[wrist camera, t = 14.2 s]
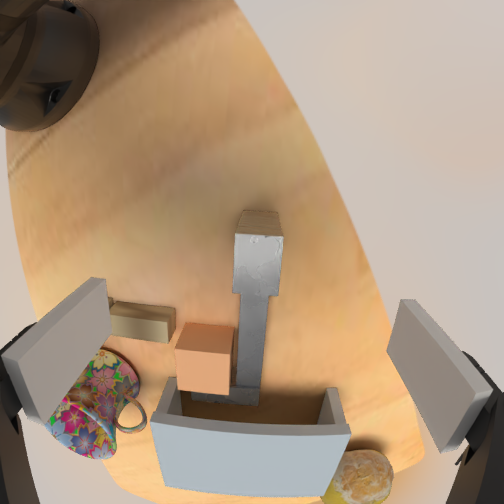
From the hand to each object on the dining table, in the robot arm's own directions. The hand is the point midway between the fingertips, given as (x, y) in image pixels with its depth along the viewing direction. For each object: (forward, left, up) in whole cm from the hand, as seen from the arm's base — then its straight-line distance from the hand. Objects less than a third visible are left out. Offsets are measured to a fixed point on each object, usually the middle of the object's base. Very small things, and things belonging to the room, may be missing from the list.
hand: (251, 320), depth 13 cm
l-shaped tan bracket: (+10, -13, -16) cm, 23 cm away
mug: (+19, -15, -17) cm, 29 cm away
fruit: (+32, +16, -17) cm, 39 cm away
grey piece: (+8, -2, -16) cm, 18 cm away
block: (+12, -4, -17) cm, 21 cm away
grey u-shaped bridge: (+24, +1, -16) cm, 29 cm away
